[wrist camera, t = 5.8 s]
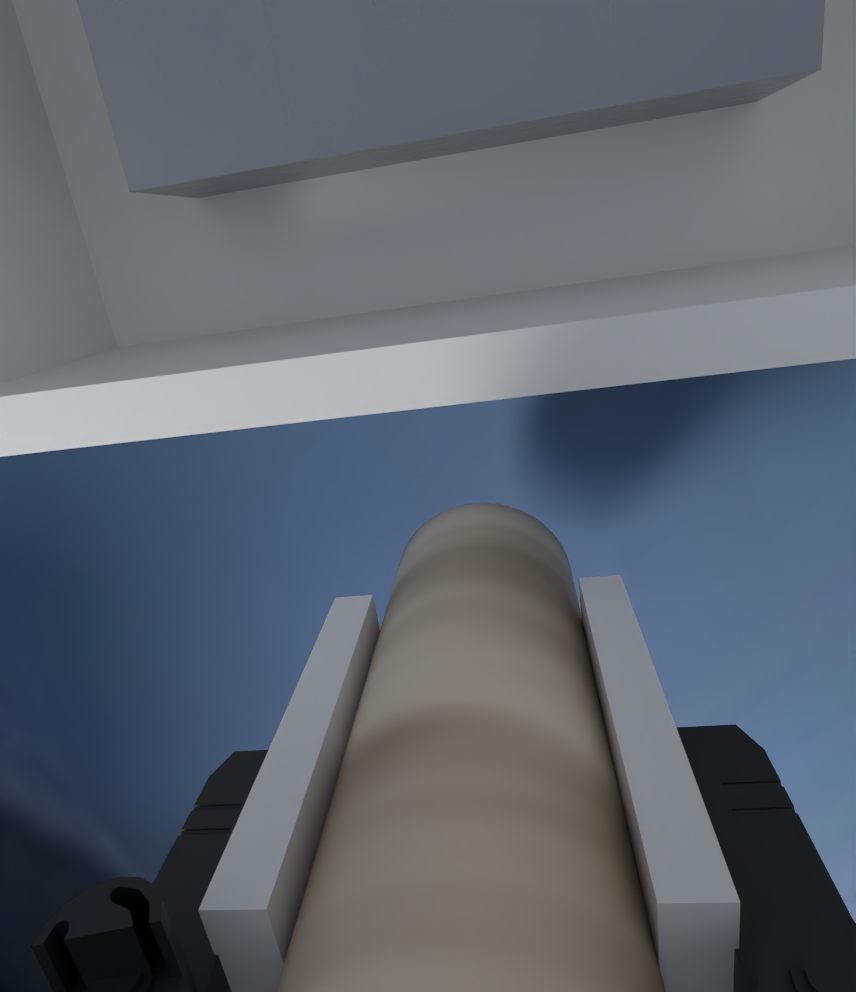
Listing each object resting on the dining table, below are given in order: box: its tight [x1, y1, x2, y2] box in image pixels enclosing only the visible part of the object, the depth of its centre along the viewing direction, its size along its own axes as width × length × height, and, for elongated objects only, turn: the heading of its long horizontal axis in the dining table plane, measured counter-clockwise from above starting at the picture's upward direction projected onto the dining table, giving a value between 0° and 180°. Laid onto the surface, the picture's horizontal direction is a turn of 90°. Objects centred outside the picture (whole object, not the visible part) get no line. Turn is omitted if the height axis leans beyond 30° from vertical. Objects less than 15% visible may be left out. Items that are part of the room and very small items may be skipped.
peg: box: [276, 503, 666, 992], centre depth 9 cm, size 4×4×14 cm
